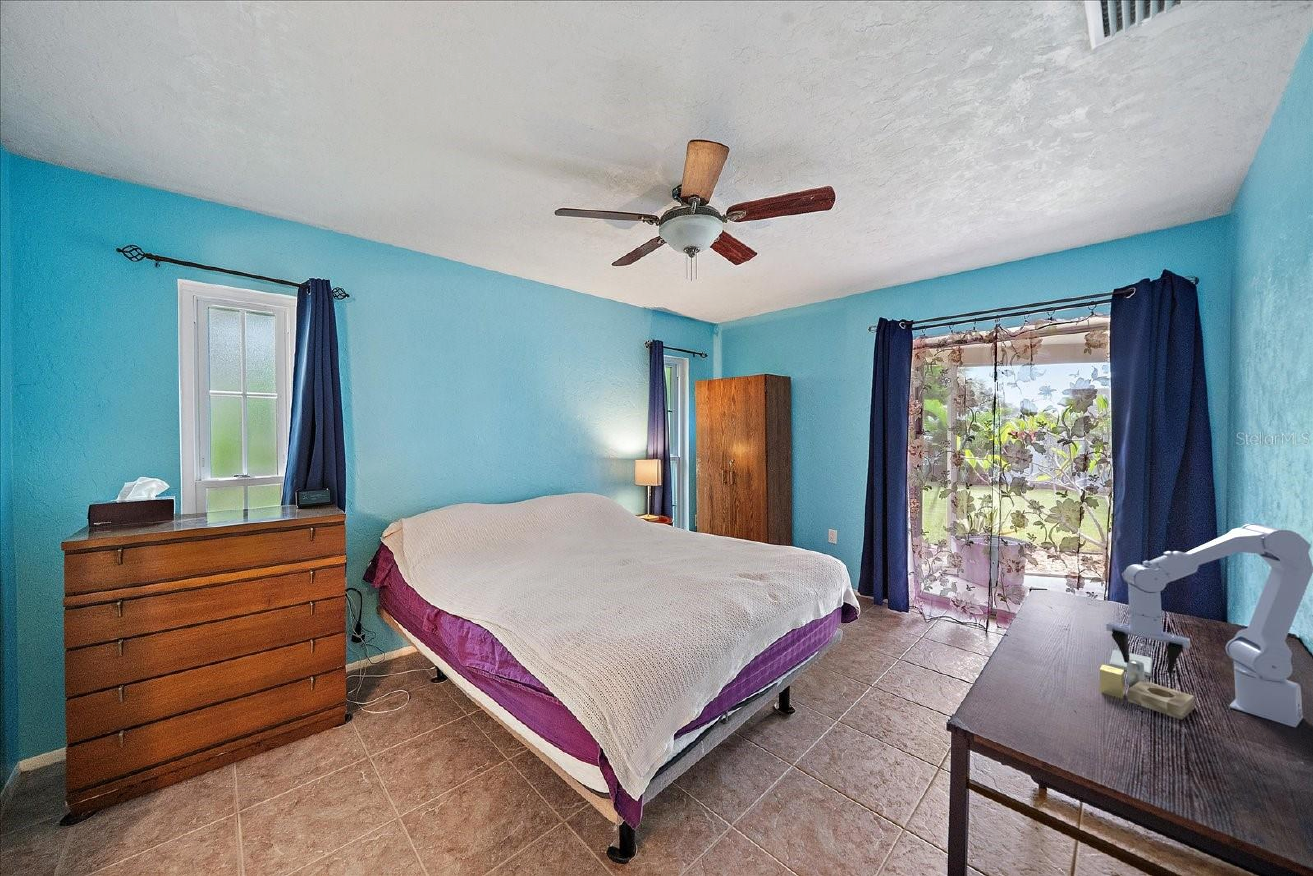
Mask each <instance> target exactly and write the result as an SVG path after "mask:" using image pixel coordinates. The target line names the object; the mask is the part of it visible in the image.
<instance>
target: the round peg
mask: <svg viewBox="0 0 1313 876" xmlns="http://www.w3.org/2000/svg"><path fill="white" fill-rule="evenodd" d="M1126 678H1127V684H1128V685H1129V686H1131V687H1132V686H1134V685H1135V684H1136V683H1138V682H1139V681H1141V680H1144V681H1146V680H1145V679H1146V678H1145V675H1144V664H1143V663H1142V662H1140V661H1137V660H1131V659H1129V662H1128V663H1127V671H1126Z"/></svg>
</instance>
